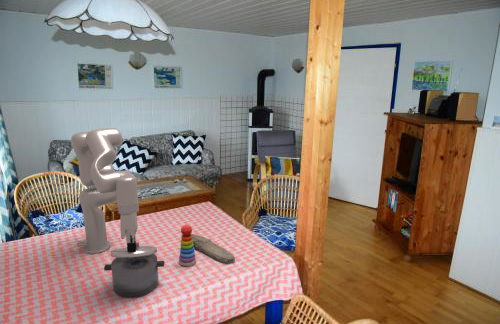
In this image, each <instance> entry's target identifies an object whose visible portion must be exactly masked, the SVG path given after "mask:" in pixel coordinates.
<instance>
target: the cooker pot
mask: <svg viewBox="0 0 500 324" xmlns="http://www.w3.org/2000/svg"><path fill="white" fill-rule="evenodd" d="M161 267H162V268H163V267H164V268H165V260H158V256H157V255H156V253H154V254H151V255H146V256H140V257H129V258H116V257H114V259H113V260H112V261H111V263H109V264H108V263H107V264H104V268H103V270H104V272H105V271H106V272H107V271H111V277H112V286H113V287H112V289H113V292H114V294H115V295H116V296H119V297H120V298H124V299H135V298H140V297H141V298H142V297H144V296H146V295H149V294H150V293H152V292H154V291H155V290H156V288H157V287H158V286H159V282H160V281H159V268H161Z"/></svg>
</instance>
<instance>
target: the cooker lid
mask: <svg viewBox="0 0 500 324" xmlns="http://www.w3.org/2000/svg"><path fill="white" fill-rule="evenodd" d="M157 253H158V247H157V246H153V245H140V243H139V242H136V252H127V246H126V247H125V246H124V247H120V248H115V249H112V250H111V251H110V257H112V258H129V257H140V256H146V255H151V254H157Z"/></svg>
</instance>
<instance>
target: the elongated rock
mask: <svg viewBox="0 0 500 324" xmlns="http://www.w3.org/2000/svg"><path fill="white" fill-rule="evenodd" d="M191 235H192V240H193V244H194V245H193V246H194V250H198V251H199V252H201V253H204V254H206V255H207V256H210V257H211V258H213V259H214V260H216V261H218V262H221V263H224V264H228V265H229V264H233V263H234V262H235V261H236V258H235V255H234V254H233V253H232V252H231V251H228V250H227V249H225V248H223V247H222V246H220V245H218V244H216V243H215V242H213V241H212V240H211V239H210V238H207V237H204V236H201V235H198V234H194V233H191Z"/></svg>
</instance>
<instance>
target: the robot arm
mask: <svg viewBox="0 0 500 324" xmlns="http://www.w3.org/2000/svg"><path fill="white" fill-rule="evenodd" d="M70 139H71V141H70V144H71V147H72V149H73V151H74V153H75V155H76V157H77V162H78V163H77V164H78V171H79V179H80V182H81V184H82V186H84V187H87V188H85V189H83V190H81V191H80V193H79V195H78V199H79V203H80V207H81V211H82V215H83V217H82V218H83V223H84V233H85V239H83V240H80V239H79V240H77V245H78V246H79V247H83V251H84V252H85V253H86V254H91V255H92V254H94V255H95V254H101V253H103V252H106V251H108V250H109V249H110V248H111V246H112V244H111V242H110V241H109V240H108V236H107V227H106V226H107V225H106V216H105V212H104V211H103V210H102V209H101V208H99V207H102V206H105V205H110V204H114V203H116V202H117V212H118V214H119V215H120V220H119V221H120V226H119V227H120V239H121V240H124V239H126V241H125V242H126V247H127V252H136V243H137V241H136V234H137V231H138V215H137V214H138V212H139V211H140V206H139V195H138V193H139V191H138V181H137V178H136V176H135V175H133V173H131V172H130V171H129V170H125V169H124V170H118V171H116V168H115V167H114V165H112V164H113V163H114V161H116V159H117V152H116V150H115V148H118V147H120V146H121V145H122V143H123V136H122V133H121V132H120V130H118V129H117V128H115V127H110V128H109V127H108V128H99V129H92V130H90V131H82V132H77V133H74V134H73V135H72V136H71V138H70ZM90 186H93V187H90Z"/></svg>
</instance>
